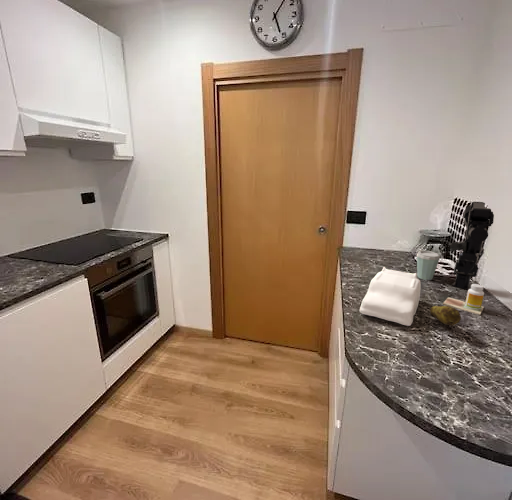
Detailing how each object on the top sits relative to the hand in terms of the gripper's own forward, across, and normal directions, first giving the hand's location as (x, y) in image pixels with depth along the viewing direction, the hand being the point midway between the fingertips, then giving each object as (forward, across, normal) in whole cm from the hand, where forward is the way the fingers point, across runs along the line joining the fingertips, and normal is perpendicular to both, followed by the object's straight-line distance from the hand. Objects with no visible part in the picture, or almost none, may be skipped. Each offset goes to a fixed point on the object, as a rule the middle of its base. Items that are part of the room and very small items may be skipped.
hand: (468, 271), depth 127 cm
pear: (+13, +33, 0) cm, 35 cm away
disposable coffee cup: (+13, -12, -19) cm, 26 cm away
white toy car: (+13, +33, -20) cm, 40 cm away
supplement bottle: (+12, +10, +5) cm, 16 cm away
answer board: (+12, +10, +2) cm, 16 cm away
